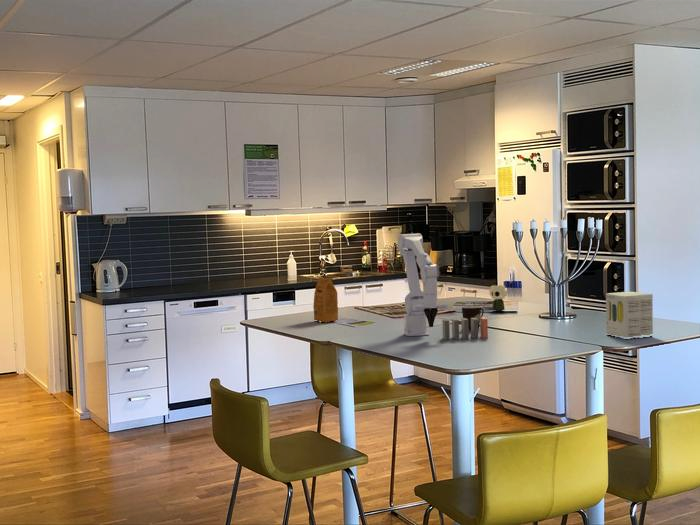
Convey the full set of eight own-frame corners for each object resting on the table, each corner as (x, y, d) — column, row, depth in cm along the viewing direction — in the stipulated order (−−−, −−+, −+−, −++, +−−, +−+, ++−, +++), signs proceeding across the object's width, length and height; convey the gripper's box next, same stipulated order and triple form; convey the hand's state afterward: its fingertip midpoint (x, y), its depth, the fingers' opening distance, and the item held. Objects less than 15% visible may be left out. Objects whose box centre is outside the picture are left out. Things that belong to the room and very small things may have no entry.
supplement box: (605, 335, 343) (604, 293, 342) (631, 333, 348) (631, 291, 347) (626, 340, 331) (626, 296, 330) (653, 337, 335) (653, 293, 334)
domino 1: (455, 339, 345) (454, 320, 344) (452, 337, 350) (451, 318, 349) (459, 339, 345) (458, 320, 345) (456, 337, 350) (456, 318, 349)
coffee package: (328, 319, 418) (327, 275, 416) (340, 322, 407) (339, 276, 406) (310, 321, 413) (309, 276, 412) (322, 324, 402) (321, 278, 401)
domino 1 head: (445, 340, 344) (444, 320, 344) (442, 338, 349) (442, 319, 349) (449, 339, 345) (449, 320, 344) (447, 338, 350) (446, 319, 349)
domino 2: (464, 339, 345) (464, 319, 345) (461, 337, 350) (461, 318, 350) (468, 339, 345) (468, 319, 345) (465, 337, 350) (465, 318, 350)
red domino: (483, 338, 346) (483, 319, 346) (480, 336, 351) (480, 317, 350) (487, 338, 346) (487, 318, 346) (484, 336, 351) (484, 317, 351)
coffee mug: (466, 331, 366) (466, 308, 365) (459, 328, 374) (458, 306, 374) (491, 329, 369) (490, 306, 368) (483, 326, 377) (482, 304, 377)
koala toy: (485, 311, 430) (485, 286, 429) (494, 309, 434) (493, 284, 433) (502, 312, 421) (502, 287, 421) (511, 311, 426) (511, 285, 425)
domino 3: (474, 338, 346) (473, 319, 345) (471, 336, 351) (470, 317, 350) (478, 338, 346) (477, 319, 345) (475, 336, 351) (474, 317, 350)
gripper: (414, 295, 340) (415, 328, 341) (449, 294, 342) (450, 327, 343) (411, 293, 347) (412, 326, 348) (445, 292, 349) (446, 324, 350)
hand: (431, 326), depth 346 cm, fingers closed
